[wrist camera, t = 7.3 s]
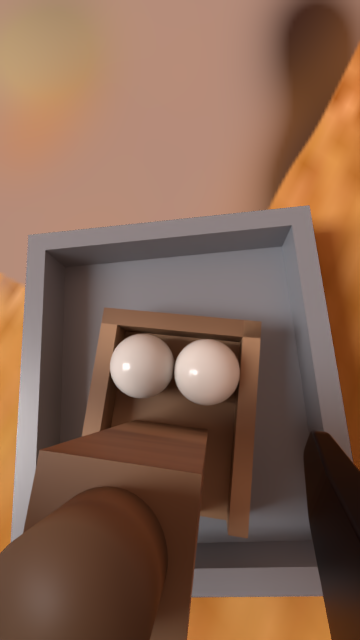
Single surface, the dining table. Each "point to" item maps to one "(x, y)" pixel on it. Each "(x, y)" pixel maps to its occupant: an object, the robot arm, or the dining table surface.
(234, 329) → the brown wooden box
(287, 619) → the dining table surface
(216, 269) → the bin
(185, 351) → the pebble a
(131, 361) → the white round ball
